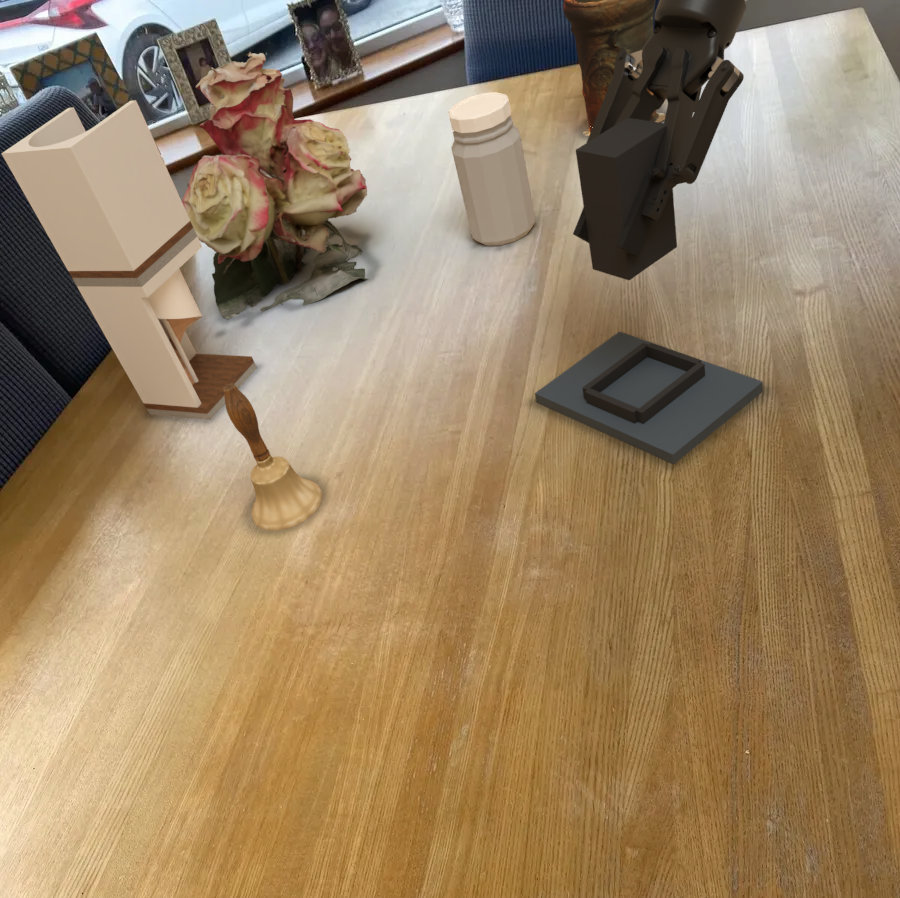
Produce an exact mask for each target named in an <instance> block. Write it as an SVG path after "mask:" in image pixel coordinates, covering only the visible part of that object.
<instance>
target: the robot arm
mask: <svg viewBox="0 0 900 898" xmlns="http://www.w3.org/2000/svg"><path fill="white" fill-rule="evenodd" d="M747 1H748V0H659V1H658V4H657V6H656V9H655V10H654V28H653V34H652V36H651V37H650V39H649V40H648V41H647V42H646V44H645V45H644V47H643V50H640V51H637V52H634V53H631V54H629V53H628V52H627V51H626V50H621V51H619V52H618V54H617V56H616V60H615V67H614V74H613V78H612V80H611V83H610V85H609V88H608V90H607V93H606V95H605V98H604V100H603V103H602V105H601V108H600V110H599V113H598V115H597V118H596V120H595V123H594V125H593V128H592V130H591V133H590V135H589V136H588V137H587V140H586V143H587V142H589V141H591V140H592V139H594V138H596V137H597V136H599V135H600V134H602V133H604V132H605V131H607V130H608V129H610V128H612V127H613V126H615V125H616V124H618V123H620V122H621V121H623V120H624V119H626V118H633V119H640V120H646V121H648V120H649V119H650V117H651V115H652V114H653V112H654V111H655V110H656V111H657V110H660V109H661V108H662V106H663V104H664V103H665V101H666V100H667V101H666V102H667V107H666V111H665V120H663V123H664V124H666V125H667V126H666V128H665V131H664V133H663V135H662V138H661V140H660V145H659V150H658V154H657V159H656V164H655V168H653V169H652V170H651V169H649V172H650V174H651V175H652V176H654V177H655V180H654V179H652V178H651V177H647V176H644V179H643V181H642V184H641V186H640V189H639V191H638V194H637V196H636V198H635V201H634V203H633V206H632V208H631V211H630V213H629V216H628V218H627V220H626V223H625V225H624V228H623V230H622V232H621V235H620V237H619V240H618V242H617V245H616V247H618V248H620V249H621V250H623V251H625V252H627V253H628V254H630V255H632V256H635V257H638V255H639V253H640V250H641V248H642V246H643V243H644V241H645V238H646V236H647V234H648V231H649V229H650V226H651V224H652V222H653V221H657V220H658V219H659V218H660V216H661V214H662V212H663V209H664V207H665V204H666V202H667V200H668V197H669V195H670V192H671V190H672V189H673V190H674V188H675V187H677V185H680V184H685V183H686V184H687V185H692V184H694V183H695V182H696V180H697V179H698V176H699V174H700V172H701V169H702V167H703V163H704V161H705V160H706V157H707V154H708V152H709V149H710V147H711V145H712V143H713V140H714V138H715V135H716V132H717V130H718V128H719V125H720V123H721V120H722V119H723V116H724V113H725V111H726V109H727V106H728V103H729V101H730V100H731V98H732V97H733V95H734V94H735V92H736V91H737V90H738V88H739V87H740V86H741V84H742V83H743V81H744V79H745V76H744V73H743V72H742V71H741V70H740V69H739V68H738V67H737V66H735V64H734V63H733V62H731V60H729V59H725V50H726V49H728V48H730V46H731V45H732V43H733V41H734V39H735V36H736V33H737V31H738V29H739V27H740V24H741V22H742V20H743V17H744V14H745V12H746V9H747V4H746V2H747ZM642 69H643V71H642ZM641 71H642V72H641ZM704 85H705V86H704ZM703 86H704V87H703ZM647 88H648V90H649V91H651V92H652V93H653V95H651V94H650V93H649V92H648V91H647ZM702 88H703V89H702ZM572 235H573V236H575V237H577V238H579V239H580V240H582V241H584V242H586V243H588V244H589V240H588V233H587V226H586V219H585V212H584V206H583V207H582V210H581V213H580V215H579V217H578V220H577V222H576V225H575V227H574V231H573V233H572Z"/></svg>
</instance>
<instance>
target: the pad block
mask: <svg viewBox="0 0 900 898" xmlns="http://www.w3.org/2000/svg"><path fill="white" fill-rule="evenodd" d="M666 126H667V125H666V124H664V122H659V123H658V122H652V121H646V120H640V119H633V118H626V119H624V120H623V121H621V122H620V123H618V124H616V125H615V126H613V127H612V128H610V129H608V130H607V131H605V132H604V133H602V134H600V135H599V136H597V137H596V138H594V139H592V140H591V141H589V142H587V141H586V143H584V144H583V145H581V146H579V147H578V148H576V149H575V155H576V161H577V163H576V164H577V169H578V176H579V182H580V190H581V191H580V192H581V197H582V203H583V207H584V212H585V219H586V226H587V233H588V240H589V243H588V248H589V252H590V259H591V267H592V270H594V271H596V272H600V273H604V274H608V275H610V276H613V277H617V278H620V279H623V280H626V281H631V280H632V279H634V278H635V277H636V276H638V275H639V274H641V273H642V272H644V271H645V270H647V269H648V268H650V267H651V266H652V265H654V264H655V263H656V262H658V261H659V260H661V259H662V258H664V257H665V256H667V255H668V254H669V253H670V252H672V251H674V250H675V249H676V248H678V241H677V228H676V227H677V226H676V215H675V203H674V202H675V200H674V188H673V189H672V190H671V192H670V195H669V197H668V200H667V202H666V204H665V207H664V209H663V212H662V214H661V216H660V218H659V219H658V220H657V221H653V222H652V224H651V226H650V229H649V231H648V234H647V236H646V238H645V241H644V243H643V246H642V248H641V250H640V253H639V255H638V257H635V256H632V255H630V254H628V253H627V252H625V251H623V250H621V249H620V248H618V247H616V245H617V242H618V240H619V237H620V235H621V232H622V230H623V228H624V225H625V223H626V220H627V218H628V216H629V213H630V211H631V208H632V206H633V203H634V201H635V198H636V196H637V194H638V191H639V189H640V186H641V184H642V181H643V179H644V176H647V177H651V178H652V179H654V180H655V177H654V176H652V175H651V174H650V172H649V169H651V170H652V169H653V168H655V164H656V159H657V154H658V150H659V145H660V140H661V138H662V135H663V133H664V131H665V128H666Z"/></svg>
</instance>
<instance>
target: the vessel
mask: <svg viewBox="0 0 900 898" xmlns="http://www.w3.org/2000/svg"><path fill="white" fill-rule="evenodd" d="M656 1H657V0H563V8H562V9H563V14H564V17H565V19H567V20H568V22H569V23H570V25H571V27H570V32H571V33H572V34H573V36H574V40H575V47H576V54H577V61H578V64H579V68H580V73H581V82H582V88H581V89H582V91H581V93H582V97H583V100H584V106H585V111H586V117H587V122H588V129H587V130H586V131H583V132H582V133H583V135H585V136H586V137H589V135H590V133H591V130H592V127H593V125H594V123H595V120H596V118H597V115H598V113H599V110H600V108H601V105H602V103H603V100H604V98H605V95H606V93H607V90H608V88H609V85H610V83H611V80H612V78H613V74H614V67H615V60H616V56H617V54H618V52H619V51H621V50H626V51H627V52H628V53H629V54H631V53H634V52H637V51H640V50H643V47H644V45H645V44H646V42H647V41H648V40H649V39H650V37H651V36H652V34H653V32H654V15H655V7H656ZM642 71H643V69H642ZM642 71H641V72H642ZM647 91H648V92H649V93H650V94H651V95H653V93H652V92H651V91H649V90H648V88H647ZM665 116H666V113H663V112H657V110H655V111H654V112H653V114H652V115H651V117H650V119H649V120H648V121H652V122H658V123H662V122H664V121H665ZM590 126H591V127H590ZM586 133H587V134H586Z"/></svg>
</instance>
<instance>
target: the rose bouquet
mask: <svg viewBox="0 0 900 898" xmlns="http://www.w3.org/2000/svg"><path fill="white" fill-rule="evenodd" d="M246 56H248V57H249V58H248V59H247V60H246V62H244V61H241V62H240V61H235V60H233V61H230V62H228V63H224V64H222V65H220V66H217V68H214V67H212V66H211V70H209V71H208V72H207V75H206V76H204V77H202V78H200V80H199V82H198V83H197V84H196V85H195V88H196V89H197V90H200V91H201V93H202V94H203V95H204V97H205V98H206V99H207V100H208V101H209V102H210V104H209V108H208V110H209V114H210V118H208V119H207V120H205V121H204V122H202V123H200V124H199V125H198V127H199V128H201V129H203V130H204V131H205V132H206V133H207V134H208V136H209V137H210V138H211V140H212V141H213V142H214V144H215V145H216V147H217V148H218V149H219V151H220V152H221V154H216V155H203V156H201V158H200V159H199V160H198V161H197V163H196V165H194V167H193V169H192V172H191V174H190V177H189V182H188V183H186V184H187V185H186V186H187V188H186V190H185V193H184V195H183V197H182V199H181V201H182V203H183V205H184V208H185V210H186V212H187V214H188V217H189V219H190V221H191V223H192V225H193V228H194V230H195V232H196V234H197V236H198V239H199V241H200V243H203V244H205V245H206V247H208V248H210V249H211V250H213V251H214V252H215V253H214V254H213V257H212V259H213V262H212V263H213V267H214V272H213V273H211V276H212V279H213V283H214V284H213V295H214V298H215V304H216V307H217V308H218V310H219V312H220V314H221V315H222V317H224V319H226V320H231V319H233V318H235V317H236V316H238V315H240V314H241V312H243V311H245V310H246V309H247V307H248V306H250V308H253V307H256V306H257V305H258V304H259V303H260V302H262V300H263V298H265V297H266V296H267V295H269V294H270V293H271V292H272V291H274V288H276V286H277V285H280V286H281V285H286V284H288V283H289V282H290V281H291V280H292V279H293V276H294V274H295V273H298V272H301V271H302V270H303V268H304V267H306V266H307V263H305V262H304V261H303V259H304V256H305V254H306V253H307V252H308V251H307V249H310V250H313V251H315V252H319V253H318V254H317V255H316V256H315V257H314V258H313V260H312V261H311V262H312V264H313V265H314V268H313V270H312V272H311V274H310V276H309V278H307V279H306V280H304V281H303V282H301V283H300V284H298V285H296V286H294V287H292V288H289V289H286V290H284V291H282V292H280V293H278V294H277V295H276V296H275V297H274V302H273V303H272V304H271V305H266V306H262V307H260V308H259V310H260V311H261V312H260V313H261V314H262V313H263V312H265V311H268V310H270V309H272V308H274V307H276V306H279V305H282V306H284V303H286V302H288V301H291V300H302V301H303V302H302V306H307V305H310V304H313V303H316V302H319V301H321V300H323V299H325V298H326V297H328V296H329V295H331V294H333V292H336V291H338V290H339V289H341V288H342V287H344V286H347V285H348V284H350V283H351V282H354V281H356V280H359V279H362V280H365V281H366V280H367V281H368V278H366V269H365V268H361V267H360V268H355V267H356V266H357V261H350V260H352V259H355V258H357V257H359V256H361V255H362V254H363V249H361V248H360V247H359V245H356V244H350V243H348V242H347V241H346V240H345V238H344V236H343V235H342V234H341V233H340V231H339V230H338V228H337V226H335V225H334V224H333V222H331V221H329V220H330V219H337V218H340V217H345V216H346V217H347V216H350V215H353V214H354V213H357V209H358V208H359V207H360V206H361V204H362V203H363V201H364V200H365V198H366V197H367V196H368V186H367V184H366V183H367V182H366V178H365V177H364V175H363V173H362V172H361V170H360V169H355V170H354V169H353V168H351V161H352V158H351V156H350V155H349V154H350V151H351V148H349V143H348V139H347V137H346V136H345V134H344V132H343V131H341V130H340V129H339V128H333V127H329V126H326V124H324V123H322V122H320V121H314V120H313V119H310V118H309V119H305V118H304V119H295V117H294V114H293V111H294V96H293V92H292V89H291V88H284V83H285V77H283V73H282V72H281V70H279V69H275V68H263V67H264V64H265V62H266V59H267V58H266V55H265V54H264V53H263V52H259V53H252V51H249V52H248V53H246ZM334 234H335V235H336V236H337V237H339V238H340V239H341V240H342V242H341V244H339V243H332V244H331V242H330V239H331V238H333V237H334ZM334 269H335V270H334Z"/></svg>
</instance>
